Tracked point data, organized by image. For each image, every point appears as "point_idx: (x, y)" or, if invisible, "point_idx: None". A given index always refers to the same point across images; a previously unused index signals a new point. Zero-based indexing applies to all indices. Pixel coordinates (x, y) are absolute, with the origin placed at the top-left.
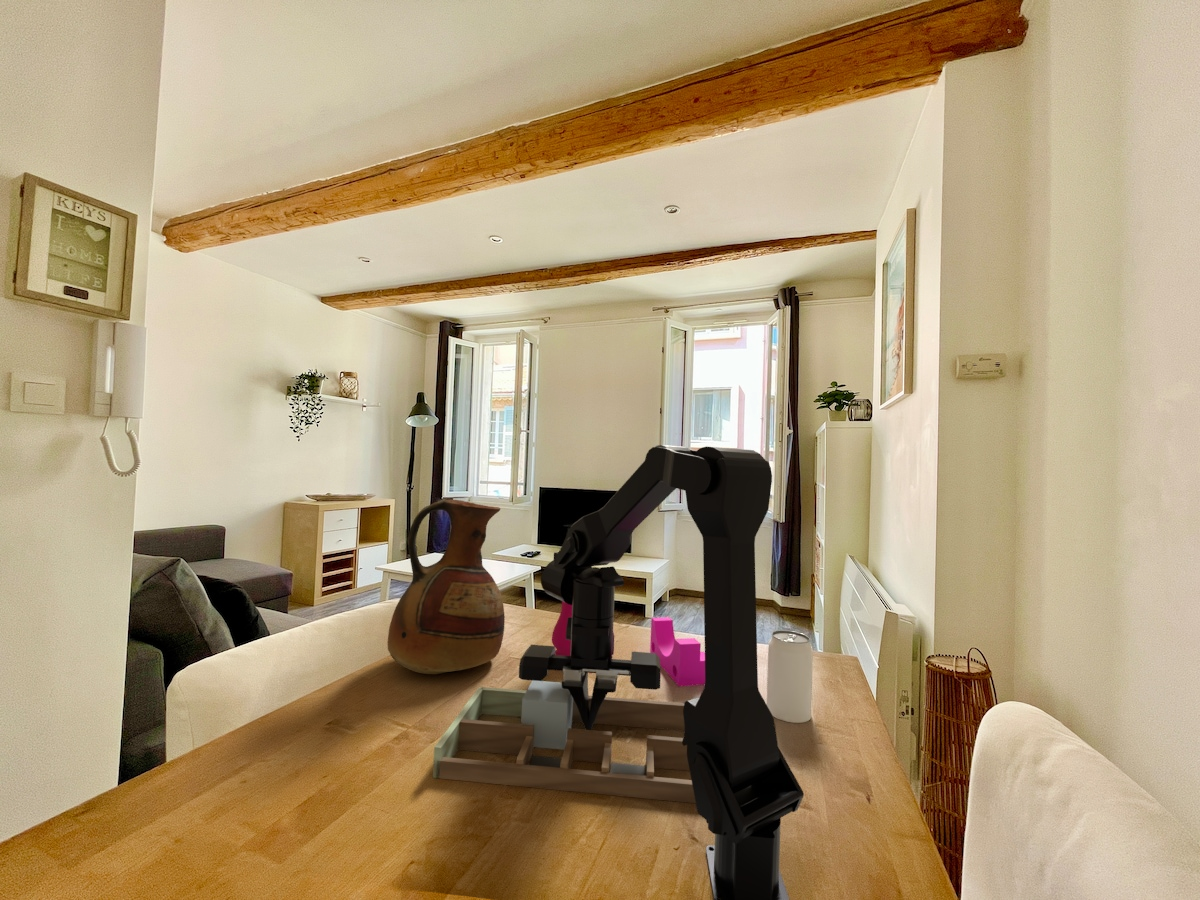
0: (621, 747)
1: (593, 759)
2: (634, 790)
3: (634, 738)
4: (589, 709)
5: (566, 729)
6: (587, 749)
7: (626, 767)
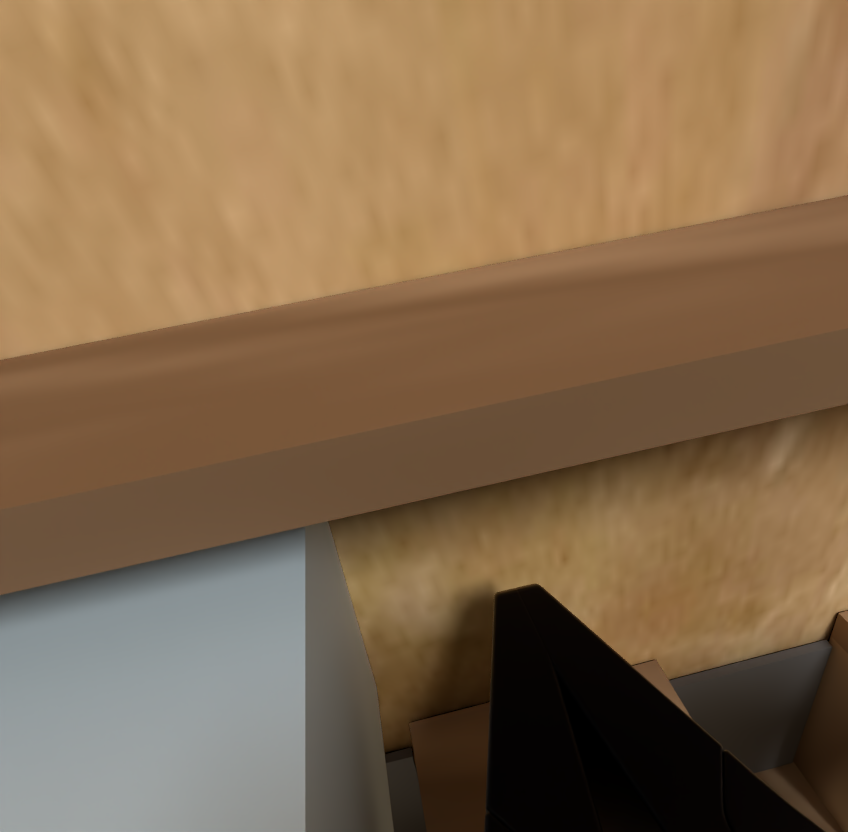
0: (723, 541)
1: None
2: None
3: (830, 414)
4: (567, 712)
5: (389, 812)
6: None
7: (735, 688)
